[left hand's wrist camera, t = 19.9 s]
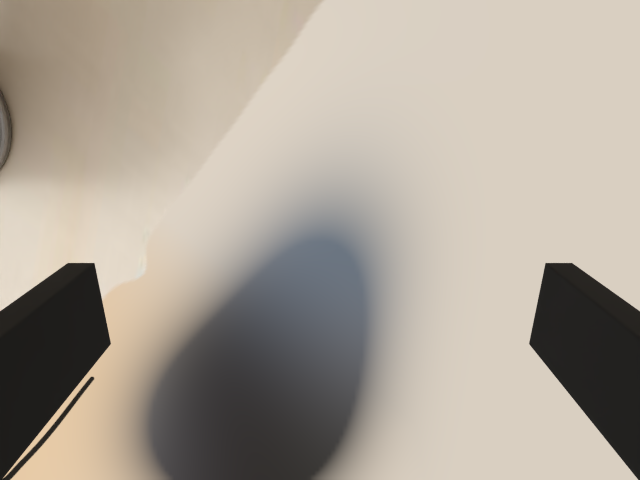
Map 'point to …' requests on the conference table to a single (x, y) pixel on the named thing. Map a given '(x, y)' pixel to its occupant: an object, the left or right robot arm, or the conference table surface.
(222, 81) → the conference table surface
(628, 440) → the left robot arm
